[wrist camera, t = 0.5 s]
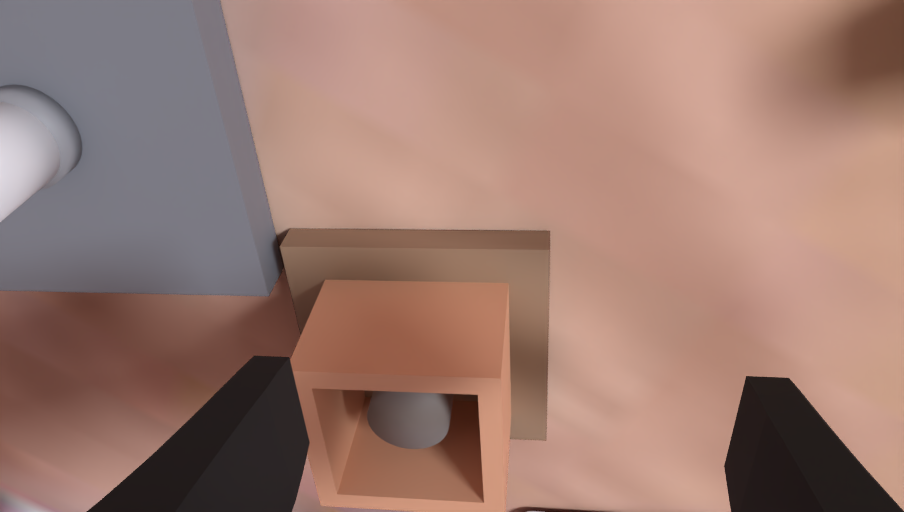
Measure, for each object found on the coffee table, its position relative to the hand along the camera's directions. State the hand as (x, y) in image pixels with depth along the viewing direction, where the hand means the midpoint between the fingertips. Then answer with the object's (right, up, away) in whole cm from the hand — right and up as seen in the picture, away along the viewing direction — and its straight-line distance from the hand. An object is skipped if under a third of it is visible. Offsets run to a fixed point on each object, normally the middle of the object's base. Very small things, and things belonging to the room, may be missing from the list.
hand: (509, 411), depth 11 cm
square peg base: (-12, +7, +9) cm, 17 cm away
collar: (-2, -1, +11) cm, 12 cm away
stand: (-2, 0, +12) cm, 12 cm away
